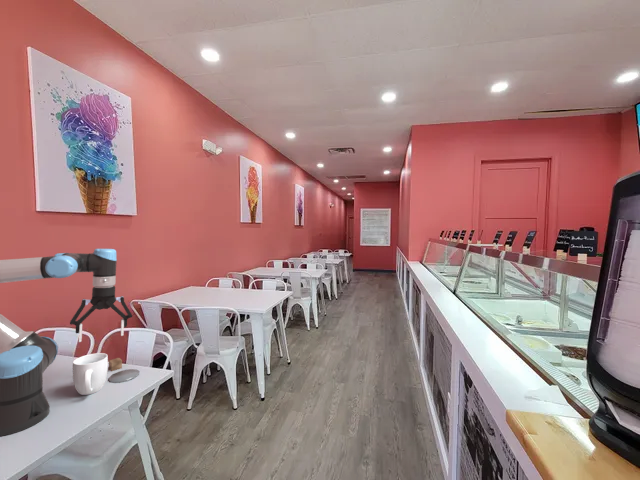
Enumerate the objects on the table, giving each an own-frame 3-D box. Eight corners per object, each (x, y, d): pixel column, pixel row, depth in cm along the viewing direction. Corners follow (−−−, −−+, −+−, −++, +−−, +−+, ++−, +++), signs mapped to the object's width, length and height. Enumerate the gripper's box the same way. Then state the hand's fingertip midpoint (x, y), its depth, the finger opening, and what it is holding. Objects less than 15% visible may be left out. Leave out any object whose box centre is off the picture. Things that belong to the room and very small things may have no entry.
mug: (106, 397, 109) (106, 364, 109) (68, 407, 103) (68, 371, 103) (108, 381, 121) (108, 350, 121) (75, 388, 115) (75, 356, 115)
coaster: (109, 385, 118) (109, 384, 118) (108, 375, 127) (108, 373, 127) (140, 377, 124) (140, 376, 124) (138, 368, 133) (138, 367, 133)
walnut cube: (111, 371, 130) (111, 362, 130) (108, 368, 132) (108, 360, 132) (121, 368, 133) (121, 359, 133) (118, 365, 136) (118, 357, 136)
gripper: (62, 290, 106) (60, 346, 106) (141, 285, 121) (138, 334, 121) (64, 286, 111) (61, 340, 111) (138, 283, 127) (136, 330, 127)
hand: (101, 337), depth 116 cm, fingers open, 13 cm apart
